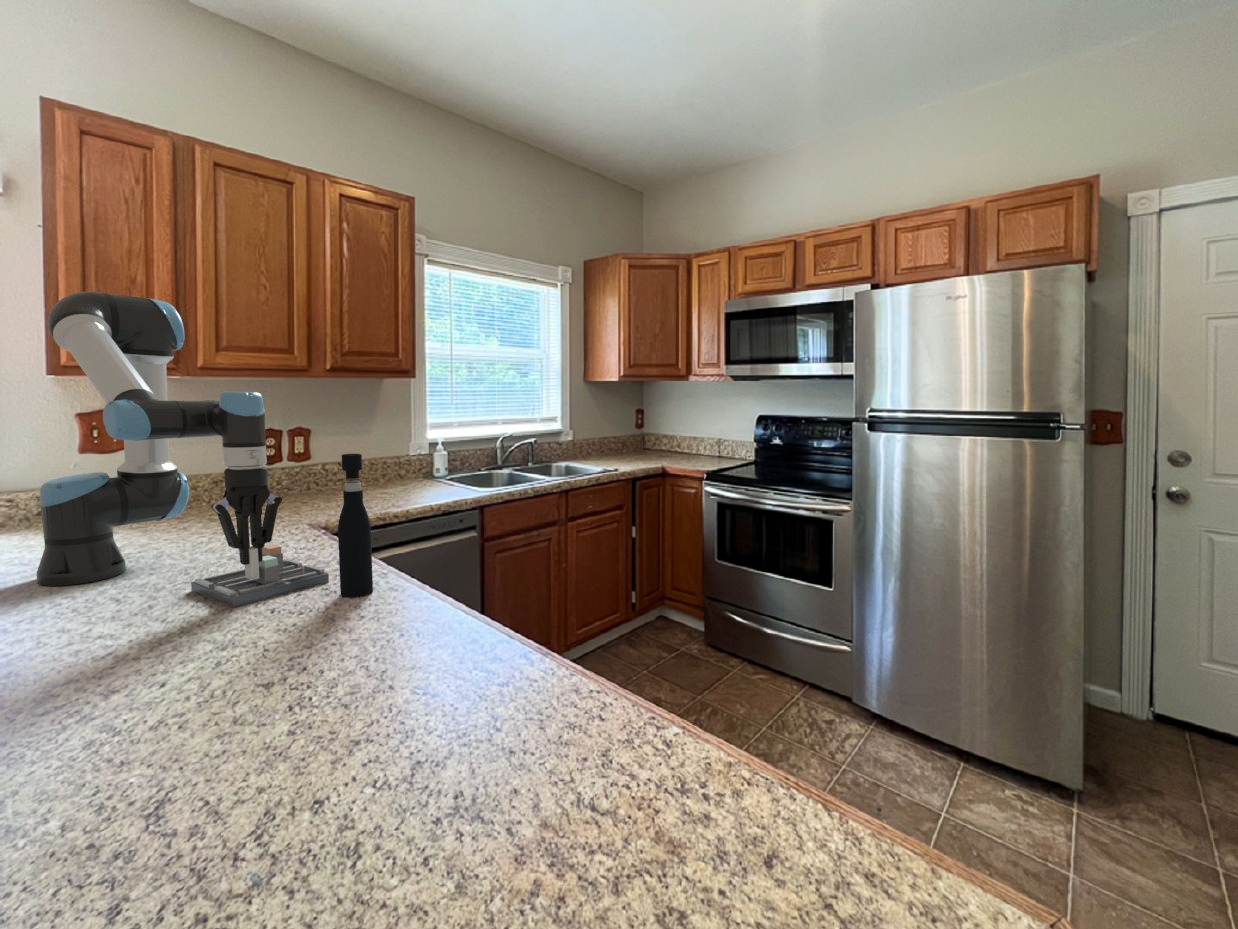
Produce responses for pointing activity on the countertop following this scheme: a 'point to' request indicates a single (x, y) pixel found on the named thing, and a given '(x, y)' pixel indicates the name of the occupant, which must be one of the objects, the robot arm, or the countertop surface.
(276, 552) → the knob
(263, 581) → the knob
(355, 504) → the black water bottle
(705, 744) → the countertop surface
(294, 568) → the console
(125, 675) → the countertop surface
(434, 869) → the countertop surface
